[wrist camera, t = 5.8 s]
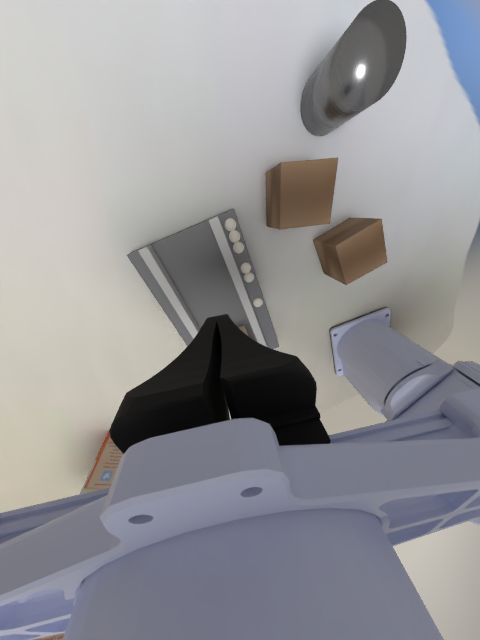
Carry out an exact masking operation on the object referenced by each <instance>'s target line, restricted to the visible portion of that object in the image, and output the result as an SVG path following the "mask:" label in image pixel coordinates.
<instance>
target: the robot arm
mask: <svg viewBox="0 0 480 640" xmlns="http://www.w3.org/2000/svg"><path fill="white" fill-rule="evenodd" d="M390 317H391V309H389V308H384V309H381V310H379V311H376V312H373V313H371V314H368V315H366V316H363V317H360V318H358V319H355V320H352V321H350V322H347V323H345V324H342V325H339V326H337V327H334V328H332V329H331V330H330V335H331V342H332V350H333V357H334V364H335V371H336V375H337V376H338V377H340V376H343V375H345V377H346V378H347V379H348V380H349V381H350V383H351V384H352V385H353V386H354V387H355V389H356V390H357V391H358V392H359V393H360V395H361V396H362V397H363V398H364V399H365V400H366V402H367V403H368V404H369V405H370V406H371V407H372V408H373V409H374V410H375V411H377V412H378V413H380V414H382V415H384V416H385V418H387V421H386V422H384V423H379V424H375V425H371V426H367V427H363V428H359V429H354V430H350V431H346V432H341V433H338V434H333V435H329V436H328V434H327V432H326V431H325V428H324V426H323V425H322V423H321V421H320V413H319V412H318V410H317V408H316V406H315V402H316V390H317V387H316V382H315V380H314V378H313V376H312V374H311V373H310V371H309V370H308V369H307V368H306V366H305V365H304V364H303V363H302V362H301V361H300V359H299V358H298V357H297V356H294V355H290V354H286V353H282V352H279V351H276V350H273V349H271V348H268V347H266V346H264V345H262V344H260V343H258V342H256V341H255V340H253V339H252V338H250V337H249V336H247V335H246V334H245V333H244V332H243V331H241V330H240V329H239V328H238V327H237V326H236V325H235V323H234V322H233V321H232V320H231V318H230V317H229V315H228V314H224V315H219V316H214V317H209V318H207V319H206V320H205V322H204V324H203V325H202V327H201V329H200V330H199V332H198V333H197V335H196V336H195V338H194V339H193V340H192V342H191V343H190V344H189V346H188V347H187V348H186V349H185V350H184V351H183V352H182V353H181V354H180V355H179V356H178V357H177V358H176V359H175V360H174V361H172V362H171V363H170V364H169V365H168V366H167V367H165V368H164V369H163V370H161V371H160V372H159V373H157V374H156V375H154V376H153V377H152V378H150V379H149V380H147V381H145V382H144V383H142V384H141V385H139V386H137V387H136V388H134V389H132V390H131V391H129V392H127V393H126V395H125V397H124V399H123V401H122V403H121V405H120V407H119V410H118V412H117V414H116V416H115V418H114V421H113V423H112V425H111V428H110V430H109V431H110V438H111V439H112V441H113V442H114V444H115V445H116V446H117V447H118V448H119V450H120V451H121V452H122V453H123V454H124V455H123V456H122V457H121V459H120V462H119V465H118V468H117V470H116V473H115V476H114V479H113V482H112V484H111V487H109V488H105V489H101V490H96V491H92V492H88V493H84V494H79V495H75V496H71V497H67V498H63V499H58V500H54V501H50V502H46V503H41V504H37V505H33V506H29V507H25V508H20V509H16V510H12V511H8V512H3V513H0V640H32V639H37V638H42V637H46V636H51V635H56V634H60V633H65V634H64V637H63V640H444V639H443V638H442V636H441V634H440V632H439V630H438V629H437V627H436V625H435V623H434V621H433V619H432V618H431V616H430V614H429V612H428V610H427V609H426V607H425V605H424V603H423V601H422V599H421V598H420V596H419V594H418V592H417V590H416V588H415V587H414V585H413V583H412V581H411V579H410V578H409V576H408V574H407V572H406V570H405V568H404V567H403V565H402V563H401V561H400V559H399V557H398V556H397V554H396V552H395V550H394V548H393V547H392V546H394V545H398V544H401V543H404V542H407V541H410V540H412V539H415V538H419V537H422V536H424V535H428V534H430V533H433V532H437V531H439V530H442V529H445V528H448V527H451V526H454V525H457V524H460V523H463V522H466V521H471V522H473V523H475V524H477V525H479V526H480V365H479V364H477V363H475V362H472V361H465V362H463V361H457V362H456V363H455V364H454V366H453V365H451V364H448V363H446V362H444V361H443V360H441V359H440V358H438V357H437V356H435V355H433V354H432V353H430V352H429V351H427V350H425V349H424V348H422V347H421V346H419V345H418V344H416V343H414V342H413V341H411V340H410V339H408V338H406V337H405V336H403V335H402V334H400V333H398V332H397V331H395V330H394V329H392V328H391V327H390ZM334 334H335V335H334ZM228 408H229V410H228ZM229 412H230V415H231V420H230V418H229Z"/></svg>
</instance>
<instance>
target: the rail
mask: <svg viewBox="0 0 480 640" xmlns="http://www.w3.org/2000/svg"><path fill="white" fill-rule="evenodd" d="M127 256H128V258H129V259H130V261H131V262H132V264H133V265H134V267H135V268H136V270H137V271H138V273H139V274H140V276H141V277H142V279H143V280H144V282H145V283H146V285H147V286H148V288H149V289H150V291H151V292H152V294H153V295H154V297H155V298H156V300H157V301H158V303H159V304H160V306H161V307H162V309H163V310H164V312H165V313H166V315H167V316H168V318H169V319H170V321H171V322H172V324H173V325H174V327H175V328H176V330H177V331H178V333H179V334H180V336H181V337H182V339H183V340H184V342H185V343H186V345H187V346H189V344H190V343H191V342H192V340H193V339H194V338H195V336H196V335H197V333H198V332H199V330H200V329H201V327H202V325H203V324H204V322H205V320H206V319H207V318H209V317H214V316H219V315H224V314H228V315H229V317H230V318H231V320H232V321H233V322H234V323H235V325H236V326H237V327H240V326H243V325H244V326H245V328H246V330H247V333H248V335H249V337H250V338H252V339H253V340H255V341H256V342H258V343H260V344H262V345H264V346H266V347H268V348H271V349H274V348H277V347H279V344H278V341H277V338H276V335H275V332H274V329H273V326H272V323H271V320H270V317H269V314H268V311H267V308H266V305H265V302H264V299H263V296H262V293H261V290H260V287H259V284H258V281H257V278H256V275H255V272H254V269H253V266H252V263H251V260H250V257H249V254H248V251H247V248H246V245H245V242H244V239H243V236H242V233H241V230H240V227H239V224H238V221H237V218H236V215H235V212H234V209H232V210H229V211H227V212H225V213H222V214H220V215H218V216H215V217H213V218H211V219H208V220H206V221H204V222H201V223H199V224H197V225H194V226H192V227H190V228H188V229H185V230H183V231H181V232H178V233H176V234H174V235H171V236H169V237H167V238H164V239H162V240H160V241H157V242H155V243H153V244H150V245H148V246H146V247H144V248H141V249H139V250H137V251H134V252H132V253H130V254H128V255H127Z"/></svg>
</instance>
